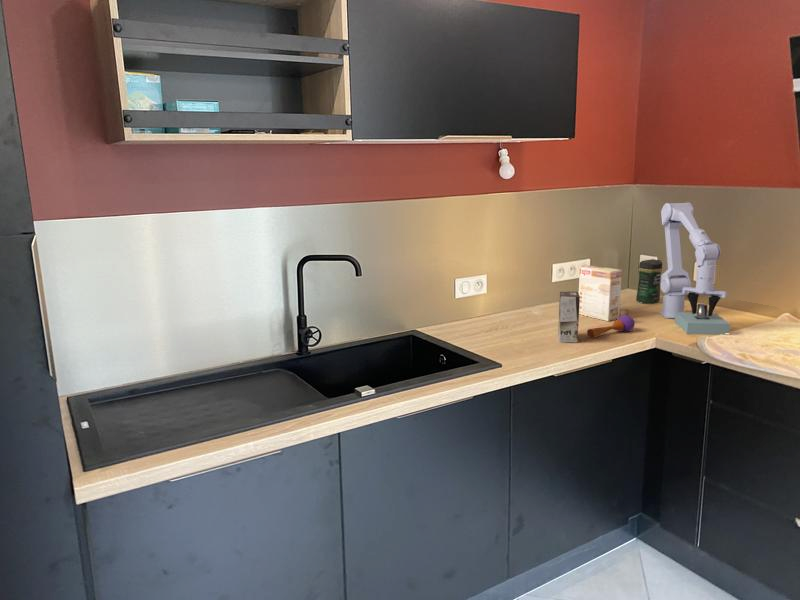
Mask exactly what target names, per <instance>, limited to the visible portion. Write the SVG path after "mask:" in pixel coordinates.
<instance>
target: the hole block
mask: <svg viewBox="0 0 800 600" xmlns="http://www.w3.org/2000/svg"><path fill="white" fill-rule="evenodd" d="M674 323H675V325H676V326H678V327H679V328H680V327H681V328H682V329H683V330H684V331H685V332H686V333H685V332H684V331H683V330H682V329H681V328H680V329H681V330H682V331H683V332H684V333H685V334H687V335H709V336H711V335H719V336H720V334H725V333H729V334H730V329H731V323H729V321H727V320H726V319H724V318H723V317H722V316H720V315H719V314H717V313H716V312H713V314H712V316H708V312H707V318H706V319H697V312H696V313H695V314H692V312H688V311H687V312H685V311H684V312H676V313H675V318H674Z"/></svg>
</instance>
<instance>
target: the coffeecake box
mask: <svg viewBox="0 0 800 600" xmlns="http://www.w3.org/2000/svg"><path fill="white" fill-rule="evenodd" d="M622 271H623V270H622V269H618V268H612V267H604V266H599V265H598V266H597V265H585V266H584V265H583V266H580V267H579V281H578V294H579V296H580V304H579V314H581V315H580V316H583V315H584V316H585V317H587V316H588V317H587V318H593V319H597V320H600V321H606V322H611V320H612V321H616V319H617V320H618V319H619V313H620V305H621V288H622Z"/></svg>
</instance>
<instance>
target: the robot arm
mask: <svg viewBox="0 0 800 600" xmlns="http://www.w3.org/2000/svg"><path fill="white" fill-rule="evenodd" d="M694 210H695V209H694V207H693V205H692V204H691V203H690V202H678V203H677V202H676V203H675V202H674V203H670V202H666V203H665V204H664V205H663V206H662V207H661V211H660V216H661V225H662V226H663V227H664V236H665V237H664V239H665V248H666V249H665V251H666V261H667V269H666V271H664V273H661V276H660V291H662V293H663V294H664V295H663V297H662V307H661V309H662V310H659V314H660V315H661V316H662V317H664V318H665V319H675V313H676V312H685V300H686V298H685V297H686V295H687V299H688V301H689V304H690V307H691V313H692V314H695V313H697V309H698V301H699V296H709V297H708V310H707V313H708V316H712V314H713V313H714V311H715V308H716V305H717V304H718V303H719V301H720V300H721V299H726V298H727V295H728V293H727V292H728V291H724V290H717V289H714V284H715V276H716V275H715V273H716V264H717V260H719V258H720V257H721V253H722V251H721V248H720V245H719V244H718V243H715V242H714V241H712V240H711V239H710V236H708V234H707V232H706V231H705V230H704V228H699V225H698V223H697V221H696V218H695V217H694ZM683 226H684V227H685V229H686V230H687V231H688V233H689V235H688V238H689V241H690V243H691V244H692V245H693V247H694V249H695V251H694V256H695V263H696V265H697V267H696V268H697V269H696V280H695V281H696V282H695V287H692V281H691V279H690V274H689V272H688V271H686V270H685V269H684V268H683V260H682V250H681V249H682V248H681V247H682V246H681V237H680V228H681V227H683Z"/></svg>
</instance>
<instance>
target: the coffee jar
mask: <svg viewBox="0 0 800 600" xmlns="http://www.w3.org/2000/svg"><path fill="white" fill-rule="evenodd" d="M662 271H663V262H662V261H661V260H659V259H654V258H651V259H647V260H641V261H640V262H639V265H638V284H637V291H636V298H635V299H636V300H635V301H636V302H637V303H640V302H642V303H641V304H648V303H652V304H656V303H659V302H660V300H661V299H660V298H661V275H662Z"/></svg>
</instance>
